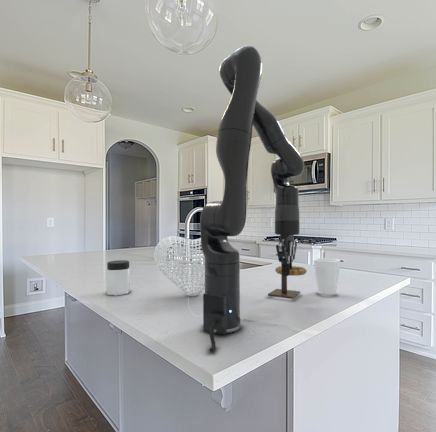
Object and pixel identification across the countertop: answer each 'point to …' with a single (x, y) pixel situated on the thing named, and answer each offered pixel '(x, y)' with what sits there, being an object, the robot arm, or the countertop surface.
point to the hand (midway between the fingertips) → (286, 274)
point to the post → (284, 290)
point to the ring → (292, 271)
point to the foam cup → (326, 275)
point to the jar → (118, 277)
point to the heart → (170, 239)
